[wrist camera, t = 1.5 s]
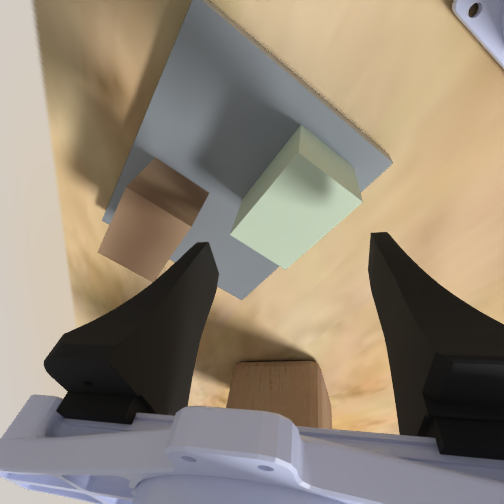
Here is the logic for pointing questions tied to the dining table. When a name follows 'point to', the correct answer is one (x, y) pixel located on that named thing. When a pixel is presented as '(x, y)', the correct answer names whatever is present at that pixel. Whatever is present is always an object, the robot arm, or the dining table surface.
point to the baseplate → (233, 133)
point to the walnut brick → (152, 219)
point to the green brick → (297, 200)
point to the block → (282, 391)
